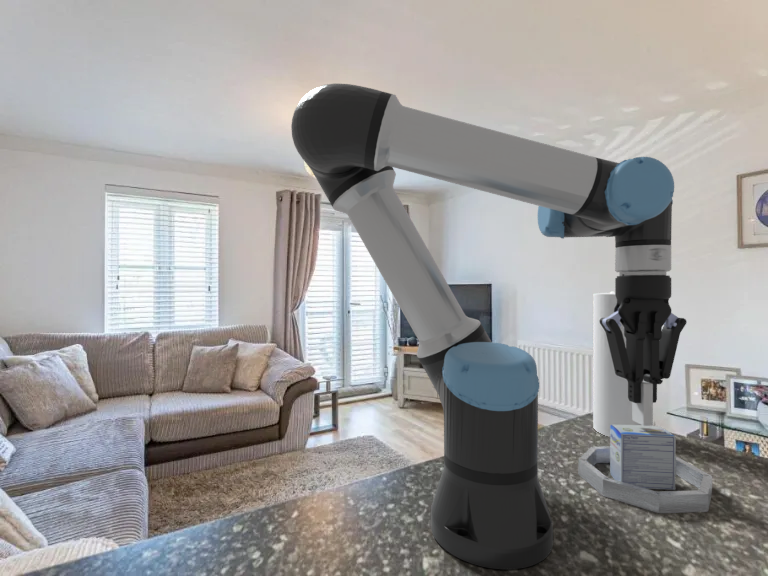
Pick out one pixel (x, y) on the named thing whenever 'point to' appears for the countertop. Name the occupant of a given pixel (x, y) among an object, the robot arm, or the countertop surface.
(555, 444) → the countertop surface
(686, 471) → the collar
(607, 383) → the cylinder container
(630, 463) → the medicine box
